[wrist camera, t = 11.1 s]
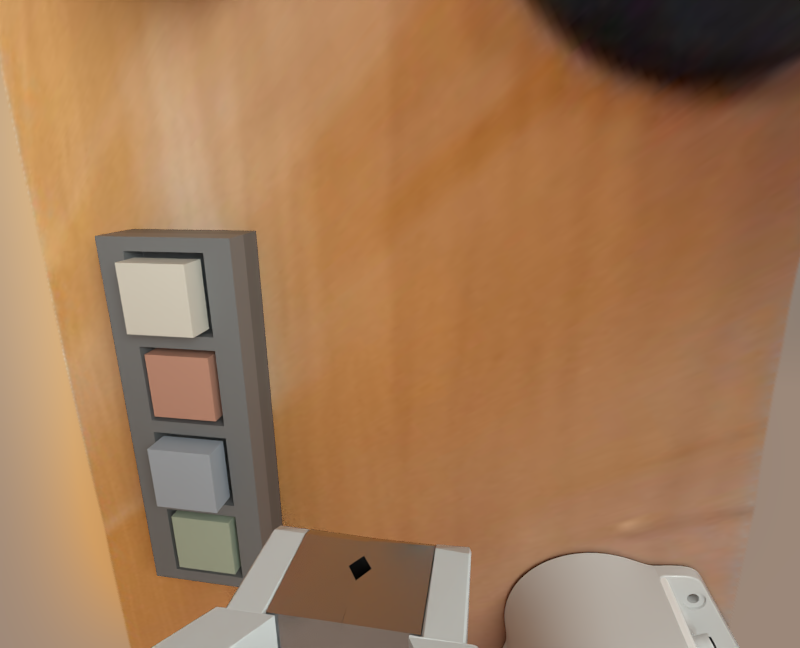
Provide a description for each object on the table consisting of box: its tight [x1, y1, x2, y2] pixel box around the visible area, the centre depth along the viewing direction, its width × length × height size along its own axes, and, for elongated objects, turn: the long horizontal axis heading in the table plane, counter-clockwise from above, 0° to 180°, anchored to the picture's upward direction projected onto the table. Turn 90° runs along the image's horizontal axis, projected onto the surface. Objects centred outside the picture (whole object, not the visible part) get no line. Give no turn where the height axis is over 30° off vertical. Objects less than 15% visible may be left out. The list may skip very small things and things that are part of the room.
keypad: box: [95, 229, 283, 587], centre depth 41 cm, size 29×10×4 cm, turn 0°
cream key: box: [115, 257, 209, 338], centre depth 35 cm, size 5×5×2 cm
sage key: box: [171, 510, 241, 574], centre depth 43 cm, size 5×5×2 cm
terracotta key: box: [144, 348, 223, 421], centre depth 39 cm, size 5×5×2 cm
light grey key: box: [147, 436, 230, 513], centre depth 39 cm, size 5×5×2 cm
